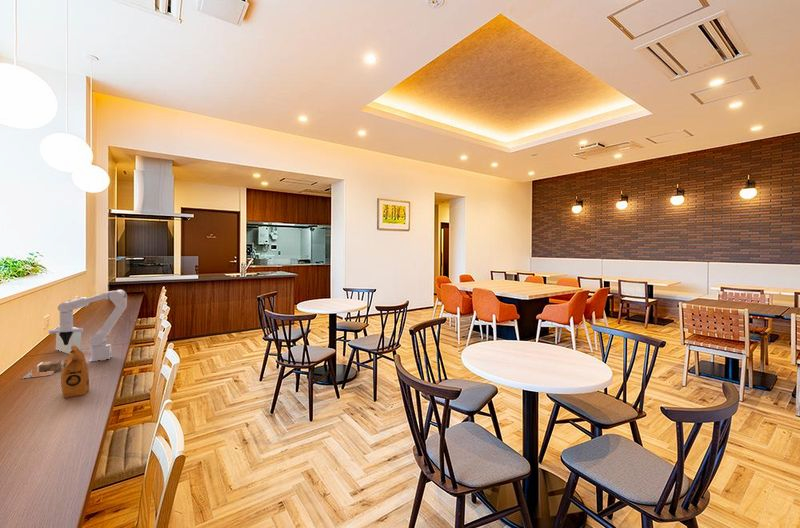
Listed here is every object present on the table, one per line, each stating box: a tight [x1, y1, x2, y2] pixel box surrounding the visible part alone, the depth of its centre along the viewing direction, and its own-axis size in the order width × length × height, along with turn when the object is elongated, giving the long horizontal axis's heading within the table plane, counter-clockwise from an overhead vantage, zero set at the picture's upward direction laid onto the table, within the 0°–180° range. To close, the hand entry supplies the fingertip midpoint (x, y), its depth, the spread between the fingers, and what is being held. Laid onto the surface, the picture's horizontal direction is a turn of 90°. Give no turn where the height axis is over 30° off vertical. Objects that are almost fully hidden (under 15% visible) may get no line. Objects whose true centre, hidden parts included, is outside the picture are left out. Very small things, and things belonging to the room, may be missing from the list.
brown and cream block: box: [36, 359, 62, 373], centre depth 189 cm, size 4×6×8 cm
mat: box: [21, 363, 63, 380], centre depth 188 cm, size 11×20×1 cm, turn 32°
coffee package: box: [60, 345, 90, 399], centre depth 162 cm, size 10×12×22 cm
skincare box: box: [55, 325, 82, 355], centre depth 223 cm, size 21×6×16 cm, turn 65°
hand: (66, 344), depth 203 cm, fingers closed
